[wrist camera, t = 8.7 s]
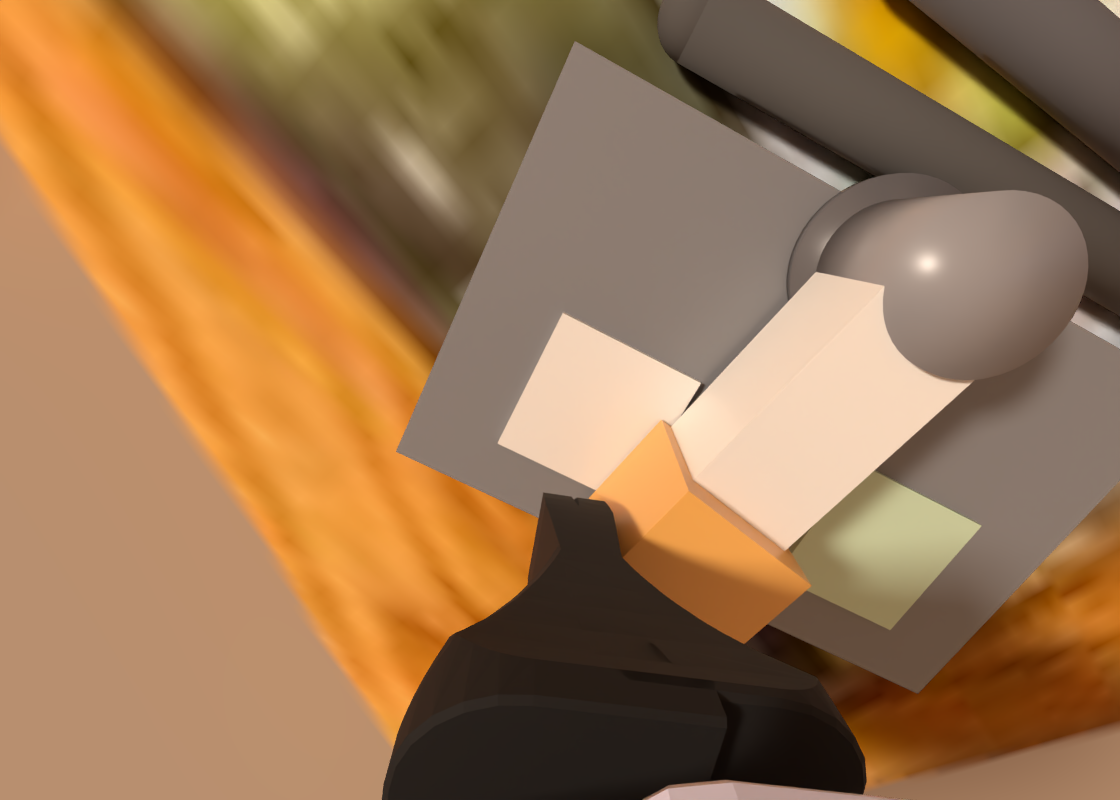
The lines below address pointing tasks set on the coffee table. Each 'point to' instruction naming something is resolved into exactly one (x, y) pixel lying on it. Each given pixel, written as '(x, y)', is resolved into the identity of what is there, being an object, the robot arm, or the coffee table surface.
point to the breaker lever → (840, 391)
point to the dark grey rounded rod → (1048, 58)
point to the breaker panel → (716, 340)
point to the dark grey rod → (871, 114)
